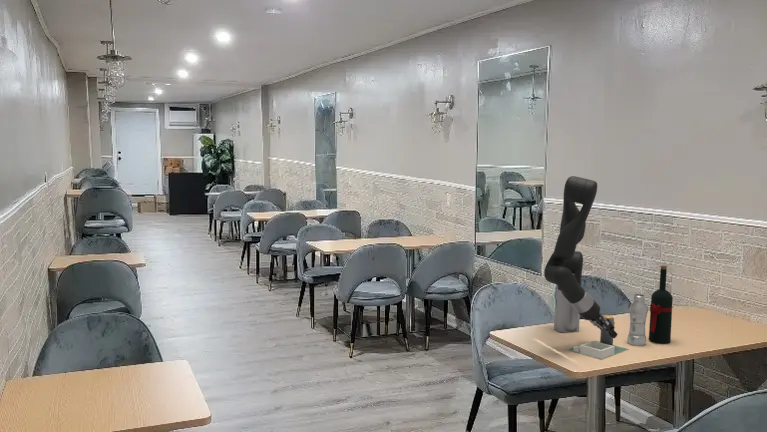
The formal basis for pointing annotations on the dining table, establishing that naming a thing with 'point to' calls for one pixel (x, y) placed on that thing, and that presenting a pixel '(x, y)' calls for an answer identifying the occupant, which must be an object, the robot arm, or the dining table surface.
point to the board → (597, 349)
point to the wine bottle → (661, 312)
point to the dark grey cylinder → (605, 336)
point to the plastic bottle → (637, 321)
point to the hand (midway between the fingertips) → (611, 334)
